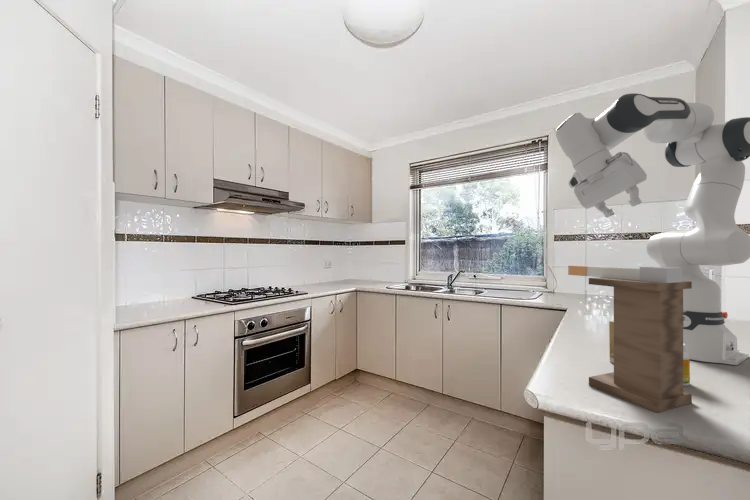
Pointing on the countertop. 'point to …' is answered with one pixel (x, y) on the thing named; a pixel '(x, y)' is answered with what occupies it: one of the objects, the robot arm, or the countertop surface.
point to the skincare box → (611, 340)
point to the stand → (646, 344)
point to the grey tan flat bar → (630, 273)
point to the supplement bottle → (686, 367)
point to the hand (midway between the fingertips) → (623, 210)
